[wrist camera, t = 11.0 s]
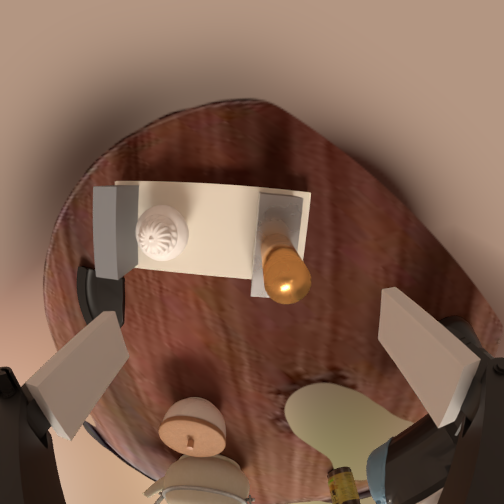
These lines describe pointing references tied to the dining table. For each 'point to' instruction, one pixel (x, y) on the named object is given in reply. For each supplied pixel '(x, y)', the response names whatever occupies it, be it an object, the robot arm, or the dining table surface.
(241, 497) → the kettle
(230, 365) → the dining table surface
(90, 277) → the curved wedge
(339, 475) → the sauce bottle
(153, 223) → the white steamed bun
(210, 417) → the lidded jar
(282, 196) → the ram
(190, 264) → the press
